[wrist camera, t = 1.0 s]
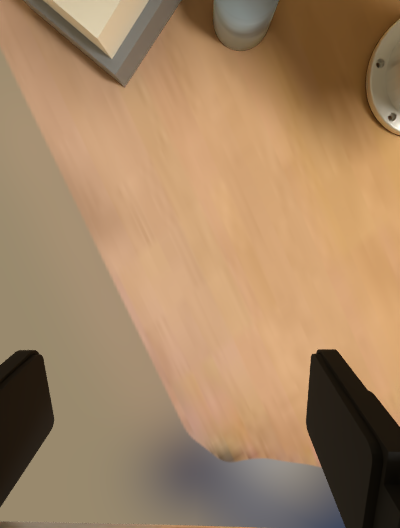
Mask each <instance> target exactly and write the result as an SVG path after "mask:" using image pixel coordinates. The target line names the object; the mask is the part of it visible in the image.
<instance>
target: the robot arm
mask: <svg viewBox="0 0 400 528" xmlns="http://www.w3.org/2000/svg"><path fill="white" fill-rule="evenodd" d="M376 65H377V66H378V67H377V66H376ZM366 92H367V99H368V102H369V105H370V108H371V110H372V112H373V114H374V115H375V117H376V119H377V120H378V121H379V122H380V123H381V124H382V125H383V126H384V127H385V128H386V129H388V130H389V131H391V132H392V133H395V134H397V135H400V19H399V20H397V21H396V22H395V23H394V24H393V25H392V26H391V27H390V28H389V29H388V30H387V31H386V33H385V34H384V35H383V36H382V38H381V39H380V41H379V42H378V44H377V46H376V47H375V49H374V51H373V54H372V56H371V59H370V62H369V65H368V70H367V75H366ZM388 117H389V119H388ZM53 424H54V415H53V410H52V404H51V398H50V393H49V387H48V382H47V377H46V371H45V365H44V359H43V357H42V355H39V353H38V352H37V351H36V350H19V351H17V352H15V353H14V354H13V355H12V356H10V357H9V358H8V359H7V360H6V361H5V362H3V363H2V364H1V365H0V507H1V505H2V504H3V502H4V501H5V499H6V498H7V496H8V495H9V493H10V491H11V490H12V489H13V487H14V486H15V484H16V483H17V481H18V480H19V478H20V477H21V475H22V474H23V472H24V471H25V469H26V467H27V466H28V464H29V463H30V461H31V460H32V458H33V457H34V455H35V454H36V452H37V451H38V449H39V448H40V446H41V445H42V443H43V442H44V440H45V439H46V437H47V436H48V434H49V433H50V431H51V429H52V427H53ZM306 425H307V430H308V433H309V436H310V438H311V441H312V443H313V446H314V449H315V451H316V454H317V456H318V459H319V461H320V464H321V466H322V469H323V471H324V474H325V476H326V479H327V481H328V484H329V487H330V489H331V492H332V494H333V496H334V499H335V501H336V504H337V507H338V509H339V512H340V514H341V517H342V519H343V522H344V524H345V527H346V528H400V427H399V426H398V424H397V423H396V422H395V420H394V419H393V418H392V417H391V415H390V414H389V413H388V412H387V410H386V409H385V408H384V406H383V405H382V404H381V403H380V401H379V400H378V399H377V398H376V396H375V395H374V394H373V393H372V392H370V391H368V390H367V389H366V387H365V386H364V385H363V384H362V382H361V381H360V380H359V378H358V377H357V376H356V374H355V373H354V372H353V371H352V369H351V368H350V367H349V365H348V364H347V363H346V361H345V360H344V359H343V358H342V356H341V355H340V354H339V352H338V351H337V350H334V349H332V350H317V353H316V354H312V356H311V365H310V377H309V390H308V403H307V416H306ZM0 528H254V527H220V526H186V525H147V524H104V523H103V524H101V523H57V522H55V523H54V522H0Z"/></svg>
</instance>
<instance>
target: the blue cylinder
mask: <svg viewBox="0 0 400 528" xmlns="http://www.w3.org/2000/svg"><path fill="white" fill-rule="evenodd" d="M278 2H279V0H214V8H213V25H214V29H215V32H216V35H217V37H218V38H219V40H220V41H221V42H222V43H223V44H224V45H225V46H226V47H228V48H230V49H232V50H236V51H245V50H249V49H251V48H253V47H255V46H256V45H258V44H259V43H260V42H261V41H262V39H263V38H264V36H265V35H266V33H267V31H268V28H269V25H270V23H271V20H272V18H273V15H274V12H275V10H276V7H277V5H278Z"/></svg>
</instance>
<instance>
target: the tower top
mask: <svg viewBox="0 0 400 528" xmlns="http://www.w3.org/2000/svg"><path fill="white" fill-rule="evenodd" d="M43 1H44V2H45V3H47V4H48V5H49V6H50V7H51V8H53V9H54V10H55V11H56V12H57V13H58V14H60V15H61V16H62V17H63V18H64V19H65V20H67V21H68V22H69V23H70V24H71V25H72V26H74V27H75V28H76V29H77V30H78V31H80V32H81V33H82V34H83V35H84V36H85V37H87V38H88V39H89V40H90V41H91V42H92V43H94V44H95V45H96V46H97V47H98V48H100V49H101V50H102V51H103V52H104V53H105V54H107V55H108V56H109V57H110V58H111V59H113V57H114V55H115V54H116V52H117V51H118V49H119V47H120V46H121V44H122V43H123V41H124V39H125V38H126V36H127V35H128V33H129V31H130V30H131V28H132V27H133V25H134V23H135V22H136V20H137V19H138V17H139V15H140V14H141V12H142V11H143V9H144V7H145V6H146V4H147V3H148V1H149V0H43Z"/></svg>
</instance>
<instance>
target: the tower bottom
mask: <svg viewBox="0 0 400 528" xmlns="http://www.w3.org/2000/svg"><path fill="white" fill-rule="evenodd" d="M24 2H25V3H26V4H27V5H28V6H29V7H30V8H31V9H32V10H33V11H35V12H36V13H37V14H38V15H39V16H41V17H42V18H43V19H44V20H45V21H46V22H48V23H49V24H50V25H51V26H52V27H54V28H55V29H56V30H57V31H58V32H60V33H61V34H62V35H63V36H64V37H65V38H67V39H68V40H69V41H70V42H71V43H73V44H74V45H75V46H76V47H77V48H79V49H80V50H81V51H82V52H83V53H84V54H86V55H87V56H88V57H89V58H90V59H92V60H93V61H94V62H95V63H96V64H98V65H99V66H100V67H101V68H102V69H103V70H105V71H106V72H107V73H108V74H109V75H111V76H112V77H113V78H114V79H115V80H117V81H118V82H119V83H120V84H121V85H122V86H124V87H125V86H126V85H127V83H128V82H129V80H130V79H131V77H132V76H133V74H134V72H135V71H136V69H137V68H138V66H139V65H140V63H141V62H142V60H143V59H144V57H145V56H146V54H147V53H148V51H149V49H150V48H151V46H152V45H153V43H154V42H155V40H156V39H157V37H158V36H159V34H160V33H161V31H162V30H163V28H164V26H165V25H166V23H167V22H168V20H169V19H170V17H171V16H172V14H173V13H174V11H175V10H176V8H177V7H178V5H179V3H180V2H181V0H149V1H148V3H147V4H146V6H145V7H144V9H143V11H142V12H141V14H140V15H139V17H138V19H137V20H136V22H135V23H134V25H133V27H132V28H131V30H130V31H129V33H128V35H127V36H126V38H125V39H124V41H123V43H122V44H121V46H120V47H119V49H118V51H117V52H116V54H115V55H114V57H113V59H111V58H110V57H109V56H108V55H107V54H105V53H104V52H103V51H102V50H101V49H100V48H98V47H97V46H96V45H95V44H94V43H92V42H91V41H90V40H89V39H88V38H87V37H85V36H84V35H83V34H82V33H81V32H80V31H78V30H77V29H76V28H75V27H74V26H72V25H71V24H70V23H69V22H68V21H67V20H65V19H64V18H63V17H62V16H61V15H60V14H58V13H57V12H56V11H55V10H54V9H53V8H51V7H50V6H49V5H48V4H47V3H45V2H44V1H43V0H24Z"/></svg>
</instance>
